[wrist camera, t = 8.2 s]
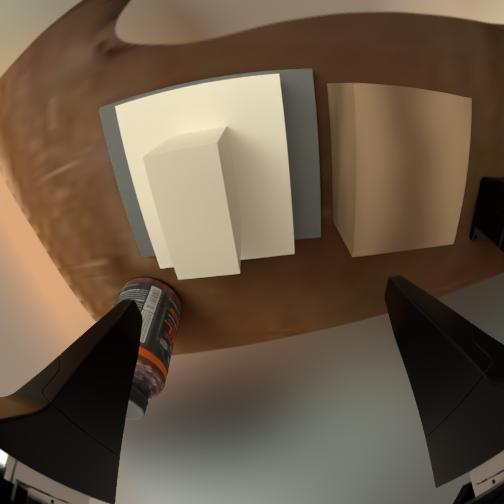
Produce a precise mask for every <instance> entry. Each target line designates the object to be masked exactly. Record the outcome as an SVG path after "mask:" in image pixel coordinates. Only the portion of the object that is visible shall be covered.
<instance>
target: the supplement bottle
mask: <svg viewBox="0 0 504 504" xmlns="http://www.w3.org/2000/svg"><path fill="white" fill-rule="evenodd" d="M124 299H133V300H135V302H136V304H137V306H138V308H139V310H140V312H141V314H142V317H143V323H142V330H141V338H140V346H139V354H138V359H137V364H136V369H135V373H134V378H133V383H132V388H131V393H130V398H129V403H128V408H127V414H126V419H140V418H142V417H143V416H144V415H145V411H146V407H147V405H148V398H152V397H154V396H156V395H158V394H159V393H160V392H161V391H162V390H163V388H164V385H165V381H166V377H167V373H168V368H169V363H170V358H171V354H172V350H173V345H174V341H175V337H176V332H177V328H178V324H179V319H180V314H181V304H180V300H179V298H178V296H177V295H176V293H175V292H174V291H173V290H172V289H171V288H170V287H169V286H167V285H166V284H164V283H162V282H160V281H158V280H155V279H152V278H147V277H145V278H144V277H141V278H135V279H132V280H130V281H128V282H127V283H126V284H125V285H124V286H123V288H122V290H121V291H120V293H119V295H118V297H117V299H116V301H115V303H114V305H113V307H112V309H113V308H114V307H115V306H116V305H118V304H119V303H120V302H121V301H122V300H124ZM112 309H111V310H112Z"/></svg>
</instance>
